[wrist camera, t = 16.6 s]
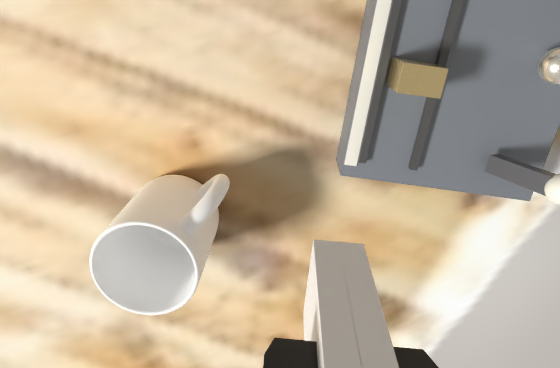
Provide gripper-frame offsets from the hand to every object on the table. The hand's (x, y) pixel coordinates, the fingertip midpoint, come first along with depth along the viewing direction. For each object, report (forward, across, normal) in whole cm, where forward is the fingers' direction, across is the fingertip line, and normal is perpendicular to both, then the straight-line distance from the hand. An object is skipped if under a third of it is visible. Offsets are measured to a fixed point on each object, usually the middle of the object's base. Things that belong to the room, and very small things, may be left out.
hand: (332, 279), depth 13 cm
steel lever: (+22, +17, +5) cm, 28 cm away
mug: (+26, -10, -11) cm, 30 cm away
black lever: (+22, +14, -3) cm, 26 cm away
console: (+26, +12, +4) cm, 29 cm away
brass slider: (+22, +7, +4) cm, 23 cm away
